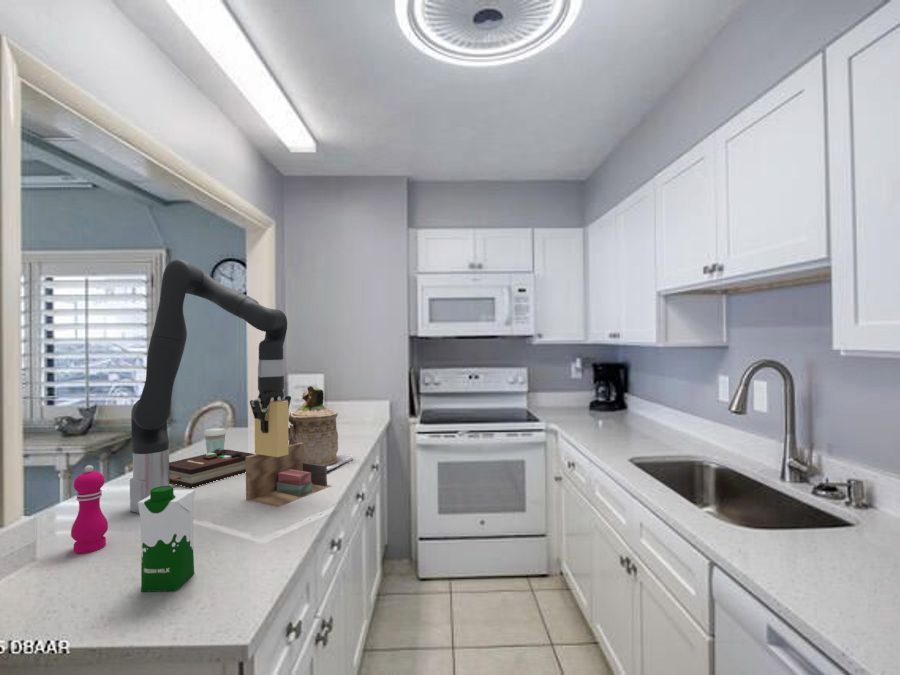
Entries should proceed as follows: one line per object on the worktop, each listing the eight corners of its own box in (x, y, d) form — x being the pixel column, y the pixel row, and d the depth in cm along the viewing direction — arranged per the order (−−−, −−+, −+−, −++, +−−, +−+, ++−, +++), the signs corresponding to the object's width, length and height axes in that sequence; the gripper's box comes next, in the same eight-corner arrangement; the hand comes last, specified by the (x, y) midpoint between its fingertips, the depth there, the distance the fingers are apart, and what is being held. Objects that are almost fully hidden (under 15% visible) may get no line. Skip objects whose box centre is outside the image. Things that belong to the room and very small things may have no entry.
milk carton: (133, 594, 94) (132, 492, 94) (159, 572, 103) (158, 479, 104) (179, 593, 95) (177, 491, 95) (201, 571, 104) (200, 478, 104)
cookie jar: (355, 459, 200) (354, 382, 200) (324, 475, 176) (323, 388, 176) (303, 456, 206) (302, 381, 206) (266, 471, 183) (265, 387, 183)
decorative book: (153, 462, 170) (230, 445, 196) (154, 484, 170) (230, 464, 196) (186, 469, 160) (261, 450, 186) (186, 492, 160) (261, 470, 186)
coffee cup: (204, 456, 208) (204, 428, 208) (226, 454, 212) (226, 426, 212) (203, 460, 200) (203, 432, 200) (226, 458, 204) (226, 430, 204)
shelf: (278, 511, 139) (277, 461, 139) (246, 504, 146) (245, 456, 146) (331, 490, 158) (331, 446, 158) (300, 484, 165) (300, 442, 165)
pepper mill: (103, 539, 121) (102, 460, 122) (112, 546, 117) (111, 464, 117) (67, 549, 116) (66, 466, 116) (75, 557, 111) (74, 471, 111)
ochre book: (277, 457, 141) (277, 402, 141) (254, 453, 146) (254, 400, 146) (288, 454, 144) (288, 401, 144) (265, 450, 149) (265, 399, 149)
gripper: (281, 373, 153) (281, 426, 153) (242, 375, 141) (242, 434, 141) (298, 373, 150) (298, 428, 149) (259, 376, 137) (260, 436, 137)
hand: (271, 431), depth 145 cm, fingers closed on ochre book, 4 cm apart
